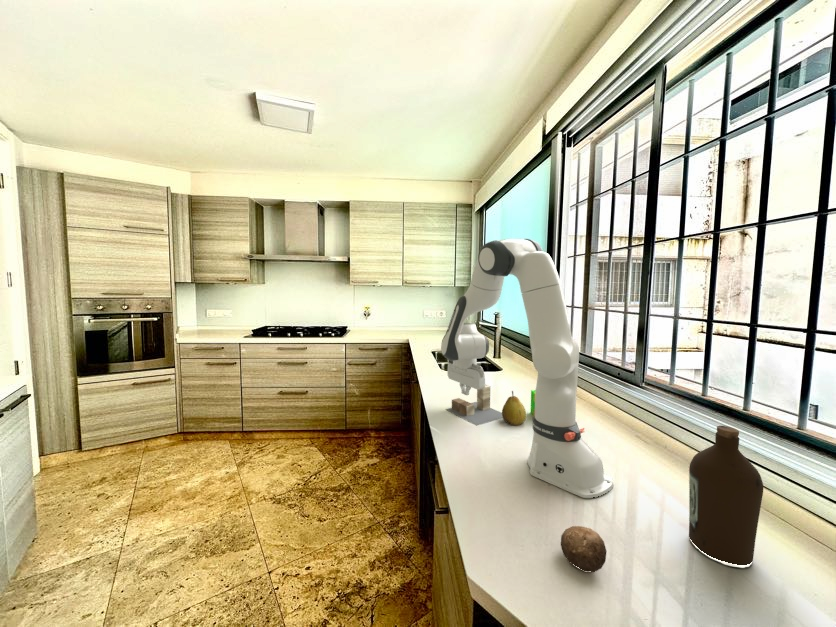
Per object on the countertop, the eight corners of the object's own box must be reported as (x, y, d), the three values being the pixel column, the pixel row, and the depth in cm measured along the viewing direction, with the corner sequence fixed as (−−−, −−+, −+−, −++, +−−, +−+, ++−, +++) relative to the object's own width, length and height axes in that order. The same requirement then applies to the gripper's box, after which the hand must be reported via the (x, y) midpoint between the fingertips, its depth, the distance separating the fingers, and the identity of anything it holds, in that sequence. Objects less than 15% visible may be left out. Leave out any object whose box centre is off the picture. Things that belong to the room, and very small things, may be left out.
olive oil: (753, 547, 66) (763, 427, 64) (760, 583, 58) (772, 447, 56) (685, 522, 73) (692, 414, 71) (683, 551, 65) (691, 429, 63)
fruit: (521, 429, 122) (522, 398, 121) (498, 423, 127) (499, 393, 126) (529, 422, 128) (529, 392, 128) (506, 416, 134) (507, 388, 133)
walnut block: (474, 404, 135) (458, 398, 143) (467, 406, 133) (451, 399, 141) (474, 414, 135) (458, 406, 144) (466, 416, 133) (451, 408, 142)
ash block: (490, 408, 141) (490, 386, 141) (483, 410, 139) (483, 387, 139) (483, 406, 145) (483, 384, 144) (476, 407, 143) (477, 385, 142)
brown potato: (597, 528, 67) (589, 512, 64) (620, 574, 59) (611, 558, 57) (560, 541, 68) (550, 526, 66) (578, 586, 61) (568, 571, 58)
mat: (509, 416, 134) (509, 415, 133) (476, 426, 124) (476, 425, 124) (476, 402, 150) (476, 401, 150) (444, 410, 141) (444, 409, 141)
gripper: (489, 365, 128) (488, 400, 129) (456, 356, 145) (456, 386, 147) (477, 367, 125) (476, 403, 126) (445, 358, 142) (444, 389, 143)
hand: (465, 394), depth 136 cm, fingers closed
